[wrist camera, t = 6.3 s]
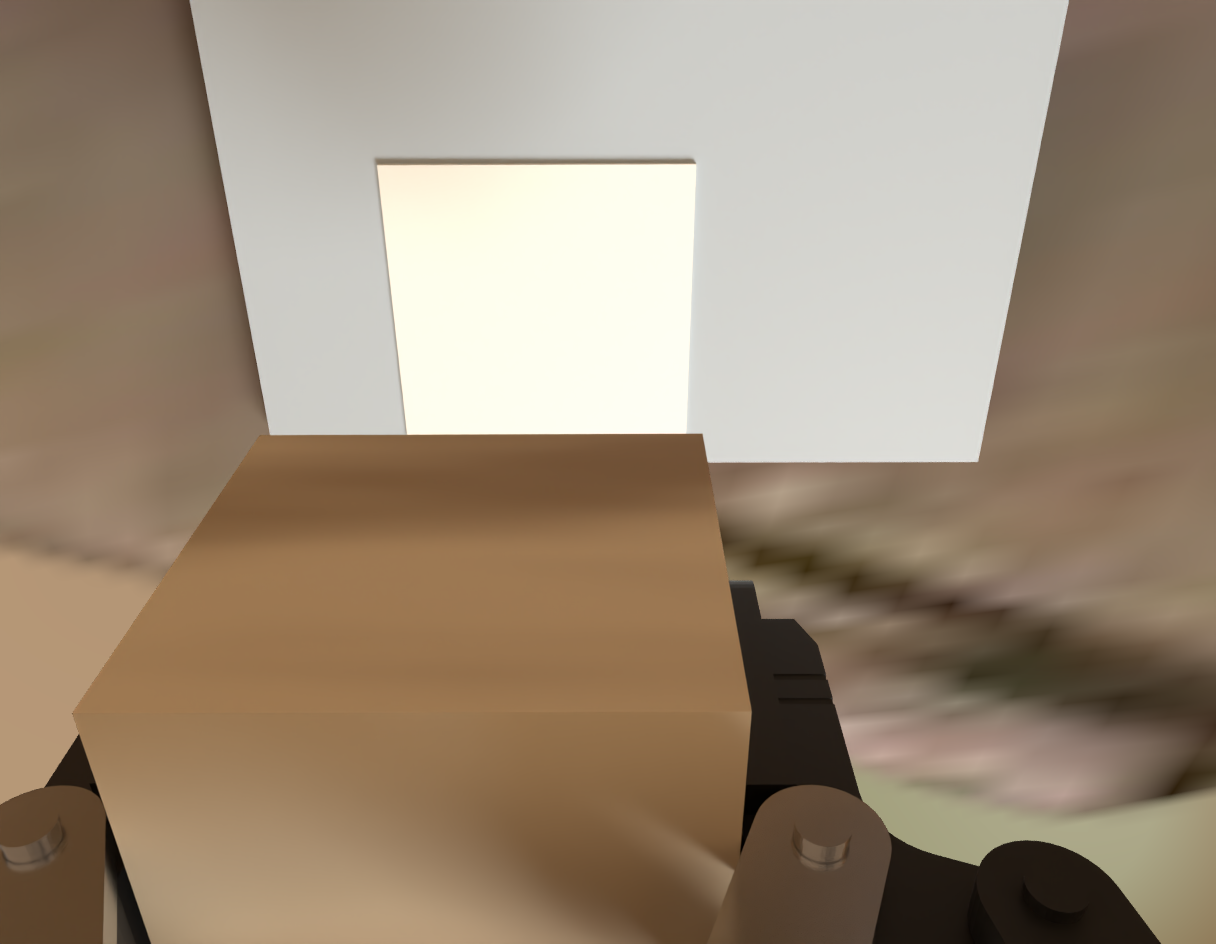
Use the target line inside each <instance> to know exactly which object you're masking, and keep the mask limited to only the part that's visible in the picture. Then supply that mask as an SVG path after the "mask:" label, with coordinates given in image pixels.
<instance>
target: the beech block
mask: <svg viewBox="0 0 1216 944" xmlns="http://www.w3.org/2000/svg"><path fill="white" fill-rule="evenodd" d="M72 714H73V717H74V720H75V723H76V726H77V729H78V732H79V735H80V738H81V741H82V743H83V746H84V749H85V752H86V755H87V758H88V761H89V764H90V767H91V770H92V773H93V776H94V778H95V781H96V784H97V787H98V790H99V793H100V796H101V799H102V802H103V805H104V808H105V811H106V813H107V816H108V819H109V822H110V825H111V828H112V831H113V834H114V837H115V840H116V843H117V846H118V848H119V851H120V854H121V857H122V860H123V863H124V866H125V869H126V872H127V875H128V878H129V881H130V883H131V886H132V889H133V892H134V895H135V898H136V901H137V904H138V907H139V910H140V913H141V915H142V918H143V921H144V924H145V927H146V930H147V933H148V936H149V939H150V942H151V944H707V942H708V939H709V937H710V934H711V931H712V929H713V926H714V923H715V921H716V918H717V916H718V913H719V910H720V908H721V905H722V902H723V900H724V897H725V895H726V892H727V889H728V887H729V884H730V881H731V879H732V876H733V873H734V871H735V868H736V866H737V863H738V860H739V858H740V847H741V835H742V823H743V811H744V799H745V787H746V775H747V763H748V751H749V739H750V727H751V715H752V710H751V705H750V699H749V693H748V688H747V682H746V676H745V671H744V665H743V659H742V654H741V648H740V642H739V637H738V631H737V625H736V620H735V614H734V608H733V603H732V597H731V591H730V586H729V580H728V574H727V569H726V563H725V557H724V552H723V546H722V540H721V535H720V529H719V523H718V518H717V512H716V506H715V501H714V495H713V490H712V484H711V478H710V473H709V467H708V461H707V456H706V450H705V444H704V439H703V434H433V435H260V436H259V437H258V439H257V440H256V442H255V443H254V445H253V446H252V448H251V449H250V450H249V452H248V453H247V455H246V456H245V458H244V459H243V461H242V462H241V464H240V465H239V467H238V468H237V470H236V471H235V473H234V474H233V476H232V477H231V479H230V480H229V482H228V483H227V485H226V486H225V488H224V489H223V490H222V492H221V493H220V495H219V496H218V498H217V499H216V501H215V502H214V504H213V505H212V507H211V508H210V510H209V511H208V513H207V514H206V516H205V517H204V519H203V520H202V522H201V523H200V525H199V526H198V528H197V529H196V531H195V532H194V533H193V535H192V536H191V538H190V539H189V541H188V542H187V544H186V545H185V547H184V548H183V550H182V551H181V553H180V554H179V556H178V557H177V559H176V560H175V562H174V563H173V565H172V566H171V568H170V569H169V571H168V572H167V573H166V575H165V576H164V578H163V579H162V581H161V582H160V584H159V585H158V587H157V588H156V590H155V591H154V593H153V594H152V596H151V597H150V599H149V600H148V602H147V603H146V605H145V606H144V608H143V609H142V610H141V612H140V613H139V615H138V617H137V618H136V619H135V621H134V622H133V624H132V625H131V627H130V628H129V630H128V631H127V633H126V634H125V636H124V637H123V639H122V640H121V642H120V643H119V645H118V646H117V648H116V649H115V650H114V652H113V653H112V655H111V656H110V658H109V660H108V661H107V662H106V664H105V665H104V667H103V668H102V670H101V671H100V673H99V674H98V676H97V677H96V679H95V680H94V682H93V683H92V685H91V686H90V688H89V689H88V691H87V692H86V693H85V695H84V697H83V698H82V700H81V701H80V702H79V704H78V705H77V707H76V708H75V710H74V711H73V713H72Z"/></svg>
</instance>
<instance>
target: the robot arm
mask: <svg viewBox="0 0 1216 944" xmlns="http://www.w3.org/2000/svg"><path fill="white" fill-rule="evenodd" d="M729 586H730V591H731V597H732V603H733V608H734V614H735V620H736V625H737V631H738V637H739V642H740V648H741V654H742V659H743V665H744V671H745V676H746V682H747V688H748V693H749V699H750V705H751V710H752V715H751V727H750V739H749V751H748V763H747V775H746V787H745V799H744V811H743V823H742V835H741V847H740V858H739V860H738V863H737V866H736V868H735V871H734V873H733V876H732V879H731V881H730V884H729V887H728V889H727V892H726V895H725V897H724V900H723V902H722V905H721V908H720V910H719V913H718V916H717V918H716V921H715V923H714V926H713V929H712V931H711V934H710V937H709V939H708V942H707V944H1161V943H1160V942H1159V940H1158V939H1157V938H1156V936H1155V935H1154V934H1153V932H1152V931H1151V930H1150V928H1149V927H1148V926H1147V925H1146V923H1145V922H1144V920H1143V919H1142V918H1141V917H1140V915H1139V914H1138V913H1137V911H1136V910H1135V909H1134V907H1133V906H1132V905H1131V903H1130V902H1129V900H1128V899H1127V898H1126V897H1125V895H1124V894H1123V893H1122V891H1121V890H1120V889H1119V887H1118V886H1117V885H1116V884H1115V883H1114V881H1113V880H1112V879H1111V878H1110V877H1109V876H1108V875H1107V874H1106V873H1105V872H1104V871H1103V870H1101V869H1100V868H1099V867H1098V866H1096V865H1095V864H1093V863H1092V862H1091V861H1089V860H1088V859H1086V858H1084V857H1083V856H1081V855H1079V854H1077V853H1075V852H1073V851H1071V850H1068V849H1066V848H1064V847H1061V846H1057V845H1054V844H1051V843H1045V842H1040V841H1026V840H1025V841H1014V842H1010V843H1006V844H1003V845H1001V846H999V847H997V848H994V849H993V850H992V851H991V852H990V853H988V854H987V855H986V856H985V858H984V859H983V860H982V862H981V864H980V866H976V865H972V864H968V863H965V862H961V861H957V860H953V859H950V858H946V857H942V856H938V855H935V854H932V853H928V852H925V851H922V850H920V849H917V848H915V847H913V846H911V845H908V844H906V843H905V842H903V841H901V840H899V839H898V838H896V837H894V836H893V835H892V834H891V833H889V832H888V830H887V828H886V826H885V825H884V823H883V821H882V820H881V818H880V817H879V816H878V815H877V814H876V812H875V811H874V810H872V809H871V808H870V807H869V806H868V805H867V804H866V803H864V802H863V801H862V799H861V796H860V793H859V790H858V786H857V783H856V779H855V776H854V772H853V768H852V765H851V761H850V758H849V754H848V751H847V747H846V744H845V740H844V737H843V733H842V730H841V726H840V723H839V719H838V715H837V712H836V708H835V705H834V704H833V701H832V699H833V698H832V694H831V691H830V687H829V684H828V680H826V673H825V669H824V666H823V662H822V659H821V655H820V652H819V648H818V645H817V644H816V642H815V641H814V640H813V639H812V638H811V637H810V636H809V635H808V634H807V633H806V632H805V631H804V629H803V628H802V627H801V626H800V625H799V624H798V623H797V622H796V621H795V620H794V619H761V615H760V610H759V606H758V601H757V596H756V592H755V587H754V584H753V581H729ZM0 944H151V942H150V939H149V936H148V933H147V930H146V927H145V924H144V921H143V918H142V915H141V913H140V910H139V907H138V904H137V901H136V898H135V895H134V892H133V889H132V886H131V883H130V881H129V878H128V875H127V872H126V869H125V866H124V863H123V860H122V857H121V854H120V851H119V848H118V846H117V843H116V840H115V837H114V834H113V831H112V828H111V825H110V822H109V819H108V816H107V813H106V811H105V808H104V805H103V802H102V799H101V796H100V793H99V790H98V787H97V784H96V781H95V778H94V776H93V773H92V770H91V767H90V764H89V761H88V758H87V755H86V752H85V749H84V746H83V743H82V741H81V738H80V735H78V736H77V738H76V740H75V741H74V743H73V744H72V746H71V747H70V749H69V750H68V752H67V754H66V755H65V757H64V758H63V760H62V761H61V763H60V764H59V766H58V767H57V769H56V771H55V772H54V773H53V775H52V776H51V778H50V780H49V781H48V783H47V784H46V786H45V787H44V788H40V789H36V790H33V791H30V792H27V793H23V794H21V795H19V796H17V797H14V798H12V799H10V800H8V801H6V802H4V803H3V804H1V805H0Z"/></svg>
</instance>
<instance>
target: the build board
mask: <svg viewBox="0 0 1216 944" xmlns="http://www.w3.org/2000/svg"><path fill="white" fill-rule="evenodd" d="M1068 2H1069V0H190V5H191V11H192V16H193V21H194V27H195V32H196V38H197V43H198V48H199V54H200V59H201V64H202V70H203V75H204V81H205V86H206V91H207V97H208V102H209V108H210V113H211V118H212V124H213V129H214V135H215V140H216V145H217V151H218V156H219V162H220V167H221V172H222V178H223V183H224V189H225V194H226V199H227V205H228V210H229V216H230V221H231V226H232V232H233V237H234V242H235V248H236V253H237V259H238V264H239V269H240V275H241V280H242V286H243V291H244V296H245V302H246V307H247V313H248V318H249V323H250V329H251V334H252V340H253V345H254V350H255V356H256V361H257V367H258V372H259V377H260V383H261V388H262V394H263V399H264V404H265V410H266V415H267V420H268V426H269V431H270V435H433V434H703V439H704V444H705V450H706V456H707V461H708V462H978V459H979V454H980V448H981V443H982V438H983V433H984V428H985V423H986V418H987V413H988V408H989V403H990V398H991V393H992V388H993V383H994V377H995V372H996V367H997V362H998V357H999V352H1000V347H1001V342H1002V337H1003V332H1004V327H1005V322H1006V317H1007V312H1008V306H1009V301H1010V296H1011V291H1012V286H1013V281H1014V276H1015V271H1016V266H1017V261H1018V256H1019V251H1020V246H1021V241H1022V235H1023V230H1024V225H1025V220H1026V215H1027V210H1028V205H1029V200H1030V195H1031V190H1032V185H1033V180H1034V175H1035V170H1036V164H1037V159H1038V154H1039V149H1040V144H1041V139H1042V134H1043V129H1044V124H1045V119H1046V114H1047V109H1048V104H1049V99H1050V93H1051V88H1052V83H1053V78H1054V73H1055V68H1056V63H1057V58H1058V53H1059V48H1060V43H1061V38H1062V33H1063V27H1064V22H1065V17H1066V12H1067V7H1068Z"/></svg>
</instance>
